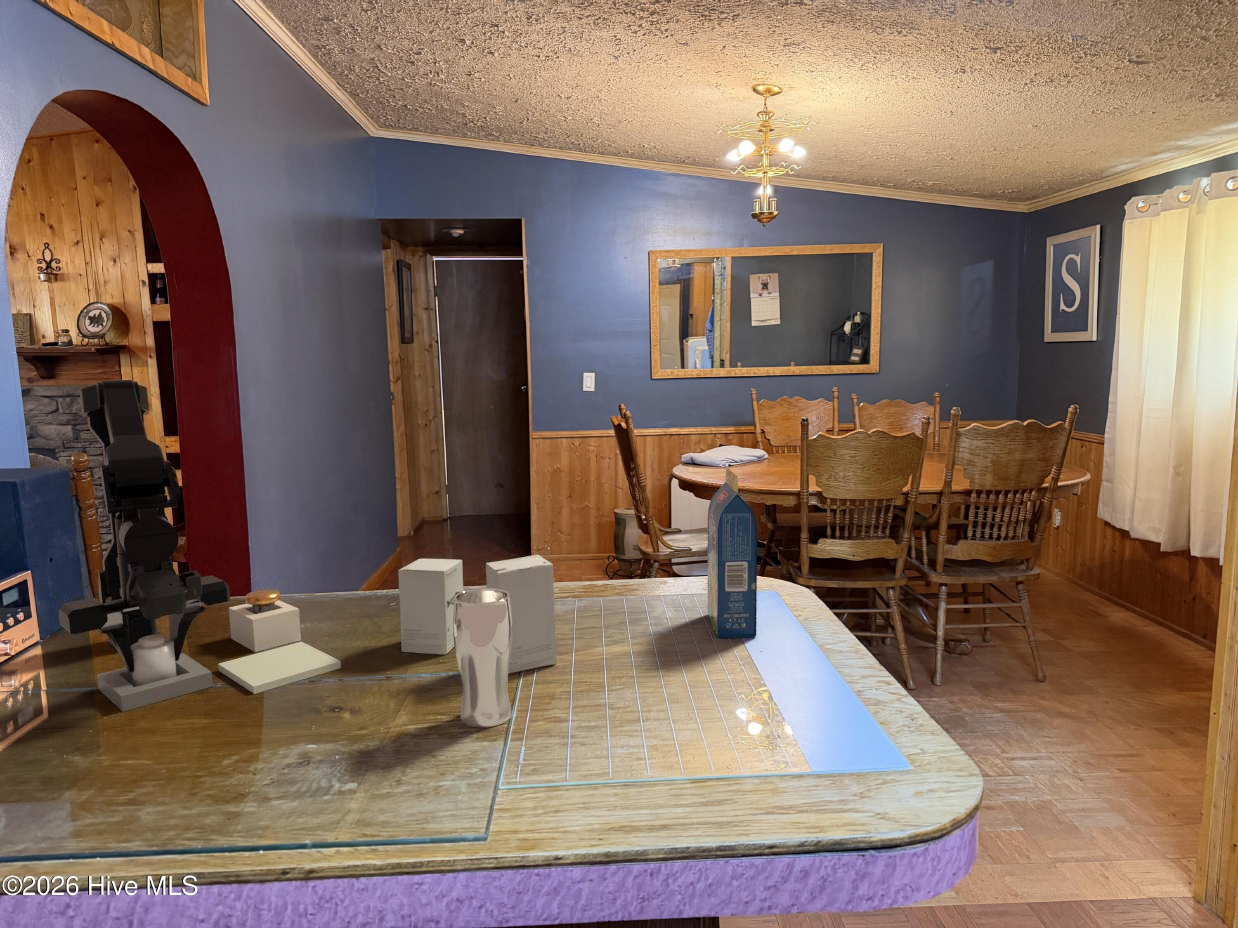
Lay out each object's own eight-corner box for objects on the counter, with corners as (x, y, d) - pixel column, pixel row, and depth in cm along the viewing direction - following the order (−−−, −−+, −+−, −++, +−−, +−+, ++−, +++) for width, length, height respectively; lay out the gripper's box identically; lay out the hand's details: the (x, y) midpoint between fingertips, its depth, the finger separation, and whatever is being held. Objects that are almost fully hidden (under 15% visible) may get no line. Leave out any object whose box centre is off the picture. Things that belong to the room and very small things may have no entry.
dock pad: (218, 670, 113) (218, 663, 113) (301, 647, 122) (301, 641, 122) (254, 693, 105) (253, 686, 105) (340, 667, 114) (340, 660, 114)
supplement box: (447, 655, 118) (443, 570, 117) (400, 652, 120) (396, 568, 118) (466, 638, 125) (463, 558, 124) (422, 635, 127) (418, 556, 125)
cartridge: (128, 688, 108) (124, 638, 107) (169, 677, 111) (165, 629, 110) (140, 698, 104) (136, 647, 103) (182, 687, 108) (178, 637, 107)
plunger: (243, 628, 126) (240, 594, 125) (273, 621, 129) (271, 587, 129) (255, 635, 123) (253, 600, 122) (287, 627, 126) (284, 593, 125)
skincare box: (543, 652, 119) (540, 553, 117) (558, 666, 114) (556, 562, 112) (487, 662, 115) (484, 560, 113) (500, 676, 110) (497, 569, 108)
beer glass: (460, 705, 101) (455, 588, 99) (516, 703, 101) (512, 586, 99) (453, 731, 94) (448, 605, 92) (514, 728, 94) (510, 603, 92)
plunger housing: (231, 638, 127) (228, 607, 126) (275, 627, 132) (273, 597, 131) (255, 652, 120) (252, 619, 120) (301, 640, 126) (298, 608, 125)
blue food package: (744, 613, 136) (744, 465, 133) (757, 637, 124) (758, 475, 121) (706, 614, 136) (706, 466, 133) (716, 638, 124) (716, 476, 121)
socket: (98, 688, 108) (97, 674, 107) (184, 666, 115) (183, 652, 115) (122, 711, 100) (121, 696, 100) (212, 686, 108) (211, 671, 108)
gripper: (75, 574, 93) (88, 704, 95) (242, 546, 107) (250, 661, 108) (52, 559, 101) (64, 680, 103) (210, 535, 114) (218, 642, 116)
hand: (153, 665), depth 107 cm, fingers closed on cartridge, 5 cm apart
